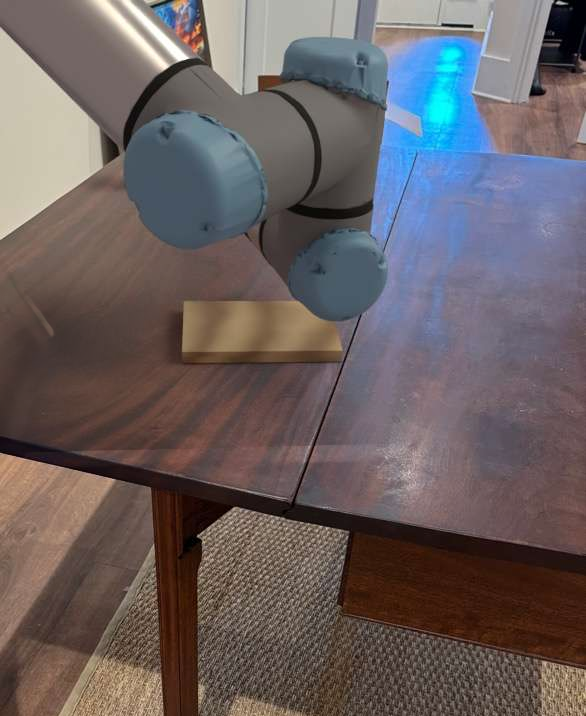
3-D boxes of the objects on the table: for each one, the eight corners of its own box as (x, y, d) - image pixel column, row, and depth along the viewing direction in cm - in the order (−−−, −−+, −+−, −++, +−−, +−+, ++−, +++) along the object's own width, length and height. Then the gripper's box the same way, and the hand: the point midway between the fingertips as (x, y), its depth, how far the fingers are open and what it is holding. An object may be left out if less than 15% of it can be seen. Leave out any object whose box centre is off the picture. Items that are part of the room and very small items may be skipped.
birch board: (182, 363, 79) (181, 351, 78) (184, 311, 88) (183, 300, 87) (341, 361, 81) (343, 350, 80) (327, 311, 90) (328, 300, 89)
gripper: (175, 265, 65) (127, 183, 81) (375, 242, 71) (293, 170, 88) (170, 181, 60) (120, 112, 77) (384, 165, 67) (296, 104, 83)
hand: (212, 143), depth 82 cm, fingers closed on white cup, 8 cm apart
